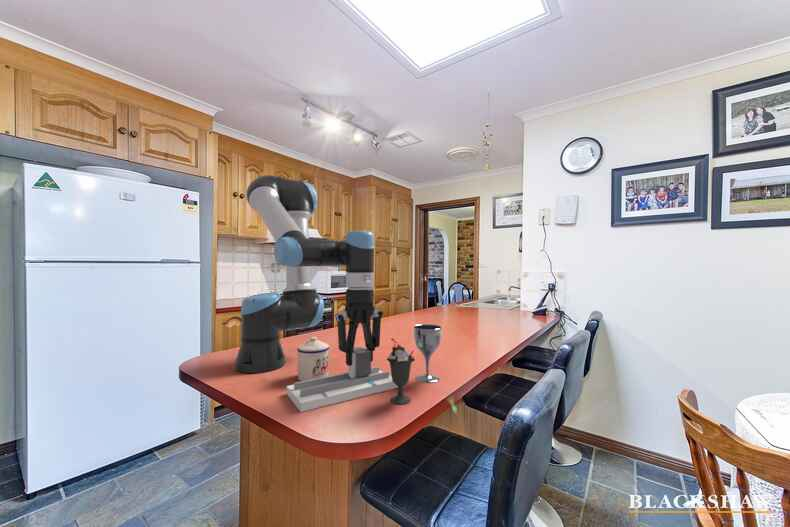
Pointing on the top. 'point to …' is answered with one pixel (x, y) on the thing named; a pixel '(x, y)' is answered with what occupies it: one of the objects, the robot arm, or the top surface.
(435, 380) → the wine glass
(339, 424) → the top surface
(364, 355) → the fader tab
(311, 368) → the teacup with lid
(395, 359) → the sundae
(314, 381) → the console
